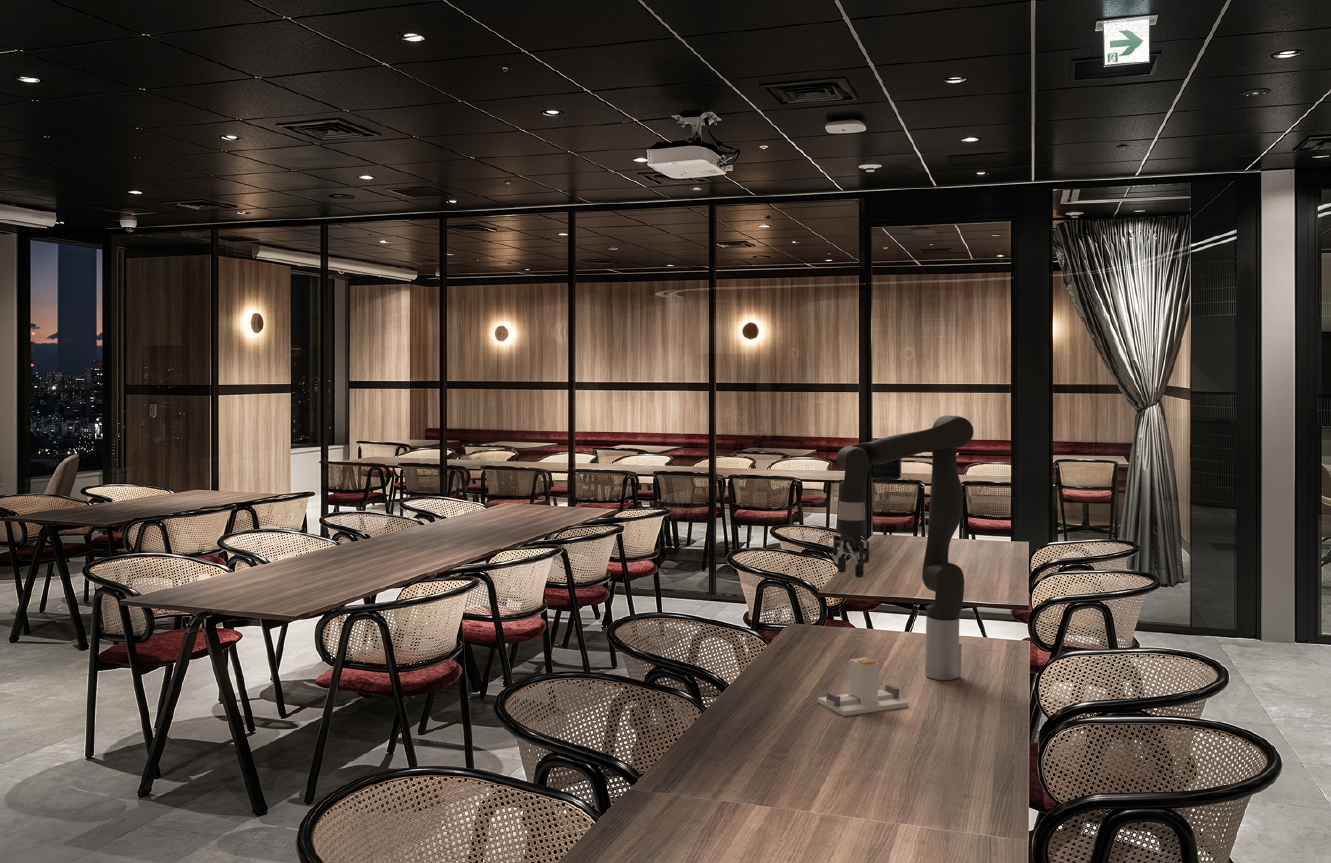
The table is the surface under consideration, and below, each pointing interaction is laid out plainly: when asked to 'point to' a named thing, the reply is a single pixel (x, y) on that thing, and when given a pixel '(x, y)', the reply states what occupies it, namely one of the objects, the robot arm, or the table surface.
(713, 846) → the table surface
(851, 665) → the rail module
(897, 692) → the mounting board
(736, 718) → the table surface
